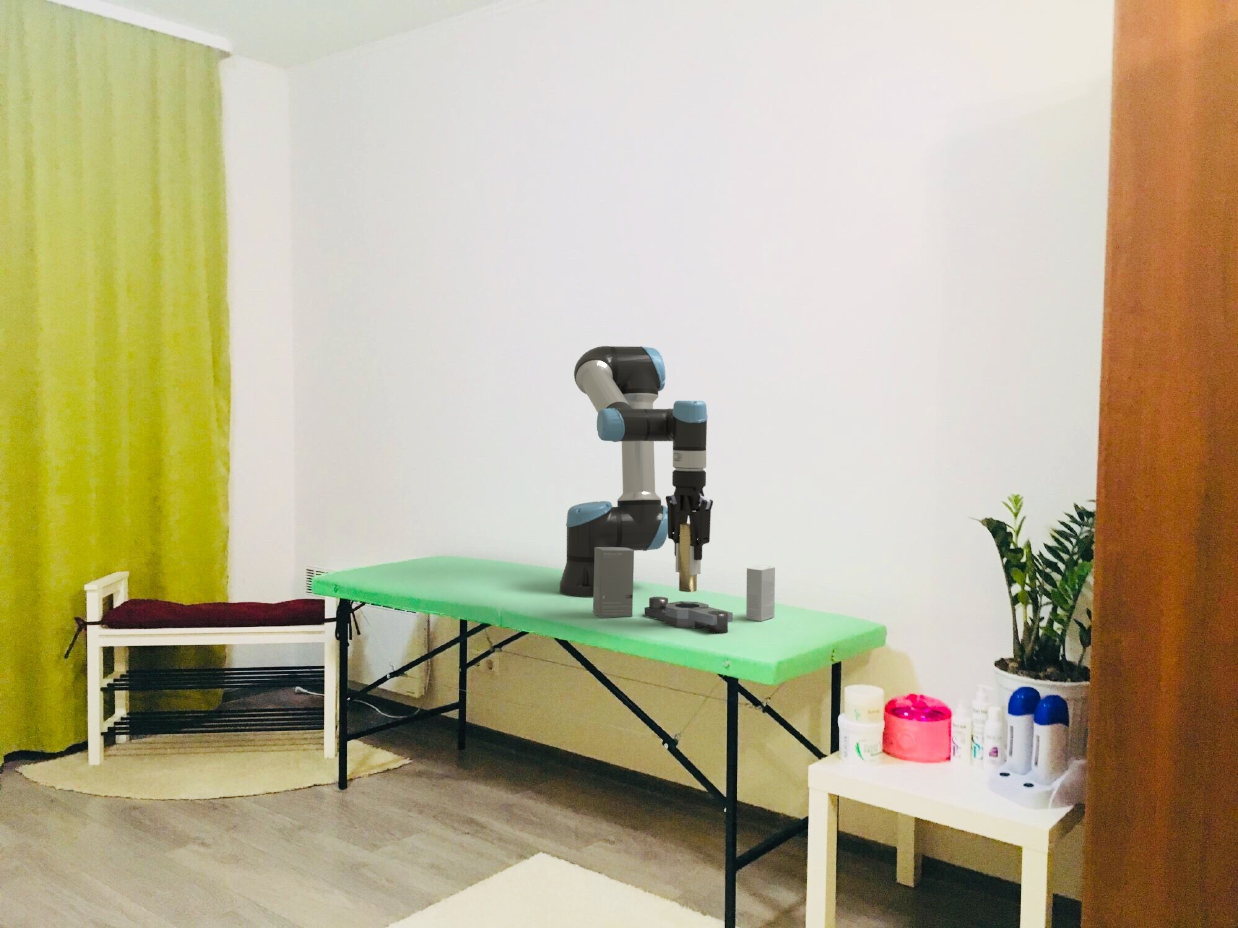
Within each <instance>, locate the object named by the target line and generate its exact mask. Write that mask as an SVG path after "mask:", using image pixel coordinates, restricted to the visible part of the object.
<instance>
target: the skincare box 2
mask: <svg viewBox="0 0 1238 928" xmlns="http://www.w3.org/2000/svg"><path fill="white" fill-rule="evenodd" d="M775 576H776V567H775V566H770V565H765V564H759V565H755V566H751V567H747V568H746V619H747V620H749V621H750V620H751V621H756V622H763V621H766V620H770V619H772V618H775V607H776V606H775V603H776V602H775V598H776V597H775V594H776V593H775V592H776V591H775V587H776V577H775Z"/></svg>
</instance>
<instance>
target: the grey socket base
mask: <svg viewBox="0 0 1238 928" xmlns="http://www.w3.org/2000/svg"><path fill="white" fill-rule="evenodd" d="M648 600H649V602H648V606H645V607H644V617H648V618H651V619H655V620H658V621H661V622H665V625H667V626H670V627H674V628H686V629H690V628H691V629H696V628H702V627H703V628H704V627H707V632H708V633H711V634H719V635H720V634H726V633H728V631H729V630H728V629H729V623H733V615H734V614H733V612H731V611H728V610H724V609H719V608H715V607H712V606H710V605H709V604H708V603H703V602H699V601H690V600H688V601H685V600H683V601H681V600H680V601H679V600H678V601H673V602H669V598H668V597H665V596H651V597H649V598H648Z"/></svg>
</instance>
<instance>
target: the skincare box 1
mask: <svg viewBox="0 0 1238 928" xmlns="http://www.w3.org/2000/svg"><path fill="white" fill-rule="evenodd" d="M594 551H595V557H594V594H593V599H592V601H593V602H592V604H593V605H592V612H593V613H594V615H595V614H596V615H597V616H598V617H599V618H601V619H605V618H607V619H608V618H620V617H632V616H633V606H634V605H633V603H634V572H635V571H634V568H635V551H634V550H632V549H629V548H624V547H595V548H594Z"/></svg>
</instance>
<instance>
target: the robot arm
mask: <svg viewBox="0 0 1238 928" xmlns="http://www.w3.org/2000/svg"><path fill="white" fill-rule="evenodd" d="M573 378H574V382H575V384H576V386H577V387H578V389H579V391H580V392H582V393H583V394H584V395H586V396H587V397H588V398H589V400H590V403H592V405H593V407H594V409H595V412H596V413H597V417H596V431H597V436H598V437H599V439H600V440H601V441H604V442H613V443H619V442H621V465H622V466H621V470H622V494H621V495H620V496H619V497H618V498H617V500H616V501H617V506H613V505H612V502H611V501H607V500H605V501H604V500H602V501H588V502H584V503H579V504H575V505H572V506H571V507H570V508H568V510H567V515H566V524H565V526H566V563H565V566H564V569H563V573H562V575H561V576H562V577H561V580H560V582H559V593H561V594H563V595H567V596H574V597H584V598H585V597H589V598H591V597H593V594H594V557H595V551H594V548H595V547H624V548H629V549H632V550H634V552H635V551H636V552H637V551H643V552H646V551H649V550H650V551H651V550H658V549H661V547H663V546H664V544H665V542H666V541H667V538H668V539H669V540H672V541H673V543H674V557H675V572H676V573H679V546H680V524H683V523H688V520H689V523H690V528H691V536H692V544H690V545H691V546H690V559H689V575H696V574H697V575H702V574H701V567H702V566H701V565H702V563H701V561H702V559H703V545H706V544H709V543H710V537H711V535H710V534H711V518H712V517H711V515H712V511H711V510H712V509H713V505H714V500H713V499H708V498H706V497H705V493H704V487H706V485H707V472H706V471H705V470H704V469H706V467H707V429H708V428H707V427H708V423H707V422H708V418H709V417H708V413H707V412H708V411H707V403H706V402H705V401H703V400H676V401H674V403H673V408H654V403H655V401H656V400H657V399H658V398H659V392H661V391H663V390H664V388H665V385H666V367H665V362H664V360H663V356H662V354H661V353H660V351H659V350H658V349H656V348H654V347H649V346H647V347H646V346H641V345H640V346H614V345H613V346H612V345H611V346H608V345H602V346H597V347H593V348H591V349H589V350H588V351H586V352H585V353H583V354H582V355H581V356H580V358H579V359H578V360H577V362H576V364H575V366H574V371H573ZM655 442H672V467H673V468H674V470H673V471H672V475H671V478H672V479H671V480H672V482H671V483H672V484H671V485H672V486H673V487H674V492H673V494H671V495H666V496H665V501H666V506H665V505H664V504H662V498H661V497H660V496H659V495H657V493H656V477H655V476H656V472H655V471H656V470H655V469H656V468H655ZM688 518H689V519H688Z"/></svg>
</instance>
